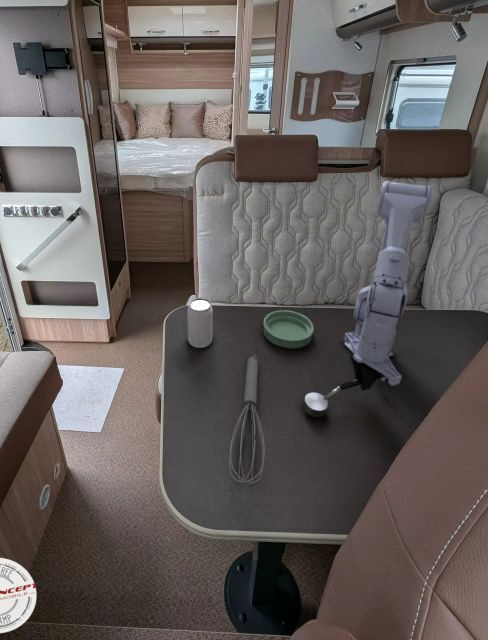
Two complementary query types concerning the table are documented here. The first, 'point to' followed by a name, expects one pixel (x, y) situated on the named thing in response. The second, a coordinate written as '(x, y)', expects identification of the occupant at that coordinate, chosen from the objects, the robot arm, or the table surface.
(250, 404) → the kitchen whisk
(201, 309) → the can
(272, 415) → the table surface
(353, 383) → the ladle
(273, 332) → the bowl
